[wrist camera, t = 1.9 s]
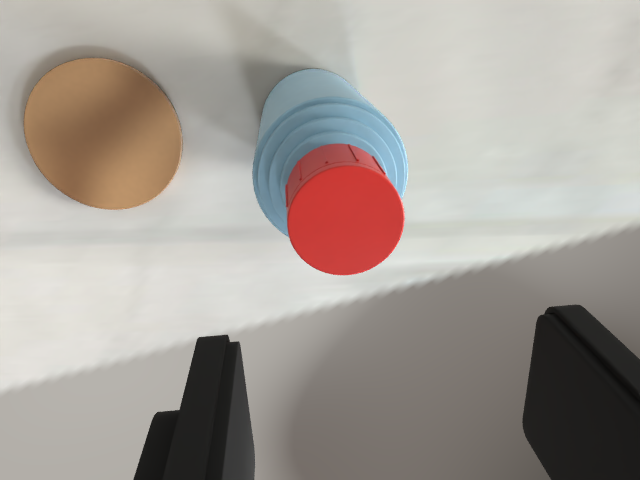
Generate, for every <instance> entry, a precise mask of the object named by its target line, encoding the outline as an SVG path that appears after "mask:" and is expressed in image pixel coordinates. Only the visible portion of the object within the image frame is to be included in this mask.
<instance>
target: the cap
mask: <svg viewBox="0 0 640 480" xmlns="http://www.w3.org/2000/svg"><path fill="white" fill-rule="evenodd" d="M285 195H286V209H287V229H288V235H289V238H290V241H291V243H292V246H293V248H294V249H295V251H296V252H297V254H298V255H299V256H300V257H301V258H302V259H303V260H304V261H305V262H306V263H307V264H309V265H310V266H312V267H314V268H316V269H318V270H320V271H322V272H325V273H329V274H333V275H352V274H357V273H361V272H364V271H367V270H369V269H371V268H373V267H375V266H377V265H378V264H380V263H381V262H382V261H383V260H385V259H386V258H387V257H388V256H389V255H390V254H391V253H392V251H393V250H394V248H395V247H396V245H397V244H398V242H399V240H400V237H401V235H402V232H403V227H404V219H405V218H404V208H403V203H402V200H401V198H400V196H399V194H398V192H397V190H396V189H395V187H394V186H393V184H392V183H391V181H390V180H389V178H388V177H387V175H386V173H385V171H384V170H383V169H382V167H381V166H380V164H379V163H378V161H377V160H376V158H375V157H374V156H371V155H370V154H368V153H367V152H366V151H364V150H362V149H360V148H358V147H356V146H352V145H350V144H328V145H324V146H320V147H318V148H316V149H314V150H312V151H310V152H309V153H307V154H306V155H305V156H303V157H302V158H301V159H300V160H299V161H297V164H296V165H295V166H294V168H293V170H292V171H291V173H290V176H289V178H288V182H287V185H285Z"/></svg>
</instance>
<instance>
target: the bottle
mask: <svg viewBox="0 0 640 480" xmlns="http://www.w3.org/2000/svg"><path fill="white" fill-rule="evenodd" d="M328 144H350V145H352V146H356V147H358V148H360V149H362V150H364V151H366V152H367V153H368V154H370V155H371V156H374V157H375V158H376V160H377V161H378V163H379V164H380V166H381V167H382V169H383V170H384V171H385V173H386V175H387V177H388V178H389V180H390V181H391V183H392V184H393V186H394V187H395V189H396V190H397V192H398V194H399V196H400V198H401V200H402V197H403V195H404V192H405V188H406V184H407V177H408V161H407V155H406V151H405V148H404V145H403V142H402V140H401V138H400V136H399V134H398V132H397V131H396V129H395V128H394V126H393V125H392V124H391V122H390V121H389V120H388V119H387V118H386V117H385V116H384V115H383V114H382V113H381V112H380V111H378V110H377V109H376V108H375V107H374V106H373V105H372V104H371V103H370V102H369V101H368V100H366V99H365V98H364V97H363V96H362V95H361V94H360V93H359V92H358V91H357V90H356V89H355V88H353V87H352V86H351V85H350V84H349V83H348V82H347V81H346V80H344V79H343V78H342V77H340V76H338V75H337V74H334V73H332V72H329V71H326V70H321V69H306V70H301V71H297V72H295V73H293V74H290V75H289V76H287V77H285V78H284V79H282V80H281V81H280V82H279V83H278V84H277V85H276V86H275V87H274V88H273V89H272V91H271V92H270V94H269V96H268V97H267V99H266V102H265V105H264V108H263V112H262V118H261V123H260V129H259V134H258V140H257V145H256V151H255V156H254V162H253V185H254V191H255V194H256V198H257V201H258V203H259V205H260V207H261V209H262V211H263V212H264V214H265V215H266V217H267V218H268V219H269V221H270V222H271V223H272V224H273V225H274V226H275V227H276V228H277V229H278V230H279V231H281V232H282V233H284V234H285V235H286V236H288V237H289V235H288V229H287V209H286V195H285V185H287V182H288V178H289V176H290V173H291V171H292V170H293V168H294V166H295V165H296V164H297V161H299V160H300V159H301V158H302V157H303V156H305V155H306V154H307V153H309V152H310V151H312V150H314V149H316V148H318V147H320V146H324V145H328Z"/></svg>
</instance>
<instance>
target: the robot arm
mask: <svg viewBox="0 0 640 480" xmlns="http://www.w3.org/2000/svg"><path fill="white" fill-rule="evenodd" d="M523 429H524V433H525V436H526V438H527V440H528V442H529V444H530V445H531V447H532V448H533V450H534V452H535V454H536V455H537V457H538V459H539V460H540V462H541V463H542V465H543V467H544V468H545V470H546V472H547V473H548V475H549V477H550V478H551V480H640V359H639V358H638V357H636V356H635V355H634V354H633V353H632V352H631V351H630V350H629V349H628V348H627V347H626V346H625V345H624V344H623V343H622V342H620V341H619V340H618V339H617V338H616V337H615V336H614V335H613V334H612V333H611V332H610V331H609V330H607V329H606V328H605V327H604V326H603V325H602V324H601V323H600V322H599V321H598V320H597V319H596V318H595V317H593V316H592V315H591V314H590V313H589V312H588V311H587V310H586V309H585V308H584V307H582V306H581V305H567V306H555V307H549V308H547V310H546V311H545V314H544V315H540V316H539V317H538V319H537V322H536V329H535V337H534V343H533V350H532V357H531V364H530V372H529V378H528V385H527V393H526V399H525V406H524V413H523ZM254 472H255V454H254V443H253V436H252V429H251V421H250V413H249V407H248V399H247V392H246V384H245V376H244V369H243V361H242V354H241V347H240V343H239V342H230V340H229V337H228V335H219V336H207V337H199V338H198V339H197V342H196V346H195V351H194V354H193V358H192V362H191V366H190V370H189V374H188V378H187V383H186V386H185V390H184V395H183V398H182V403H181V407H180V410H175V411H165V412H157V413H156V414H155V415H154V417H153V420H152V422H151V425H150V428H149V432H148V435H147V438H146V441H145V445H144V448H143V451H142V454H141V457H140V461H139V464H138V467H137V470H136V473H135V477H134V480H254Z"/></svg>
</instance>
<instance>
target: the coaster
mask: <svg viewBox="0 0 640 480" xmlns="http://www.w3.org/2000/svg"><path fill="white" fill-rule="evenodd" d="M24 133H25V138H26V143H27V146H28V149H29V151H30V154H31V156H32V158H33V160H34V162H35V164H36V165H37V167H38V168H39V170H40V171H41V172H42V174H43V175H44V176H45V177H46V179H47V180H48V181H49V182H50V183H51V184H53V185H54V186H55V187H56V188H57V189H58V190H60V191H61V192H62V193H64V194H65V195H67V196H69V197H70V198H72V199H74V200H76V201H78V202H80V203H83V204H86V205H88V206H92V207H96V208H101V209H110V210H119V209H128V208H132V207H136V206H139V205H142V204H144V203H147V202H148V201H150V200H152V199H153V198H155V197H156V196H157V195H159V194H160V193H161V192H162V191H163V190H164V189H165V188H166V187H167V186H168V185H169V183H170V182H171V180H172V179H173V177H174V176H175V174H176V172H177V170H178V167H179V164H180V161H181V156H182V148H183V139H182V131H181V126H180V122H179V119H178V117H177V114H176V112H175V110H174V108H173V106H172V104H171V102H170V101H169V99H168V98H167V96H166V95H165V94H164V92H163V91H162V90H161V89H160V88H159V87H158V86H157V85H156V84H155V83H154V82H153V81H152V80H151V79H150V78H148V77H147V76H146V75H144V74H143V73H142V72H140V71H138V70H136V69H135V68H133V67H131V66H128V65H126V64H124V63H121V62H118V61H114V60H110V59H103V58H84V59H77V60H73V61H69V62H66V63H63V64H61V65H59V66H57V67H55V68H54V69H52V70H50V71H49V72H48V73H46V74H45V75H44V76H43V77H42V78H41V79H40V80H39V81H38V83H37V84H36V85H35V86H34V88H33V90H32V92H31V93H30V96H29V98H28V101H27V104H26V108H25V113H24Z"/></svg>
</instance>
